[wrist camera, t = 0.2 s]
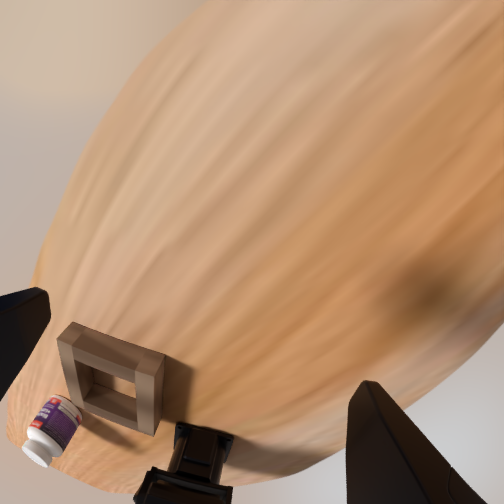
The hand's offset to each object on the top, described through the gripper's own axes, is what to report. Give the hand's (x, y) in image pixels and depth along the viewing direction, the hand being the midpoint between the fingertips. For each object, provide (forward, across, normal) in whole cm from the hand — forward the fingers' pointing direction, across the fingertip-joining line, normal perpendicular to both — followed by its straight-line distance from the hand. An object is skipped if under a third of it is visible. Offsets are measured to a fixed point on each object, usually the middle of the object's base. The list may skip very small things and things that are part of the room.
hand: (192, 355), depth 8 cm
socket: (+15, +10, +20) cm, 26 cm away
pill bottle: (+15, +18, +32) cm, 40 cm away
